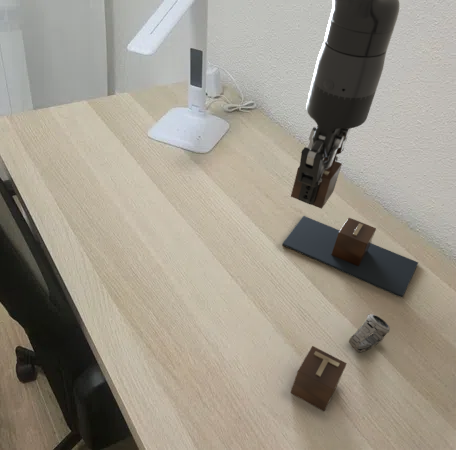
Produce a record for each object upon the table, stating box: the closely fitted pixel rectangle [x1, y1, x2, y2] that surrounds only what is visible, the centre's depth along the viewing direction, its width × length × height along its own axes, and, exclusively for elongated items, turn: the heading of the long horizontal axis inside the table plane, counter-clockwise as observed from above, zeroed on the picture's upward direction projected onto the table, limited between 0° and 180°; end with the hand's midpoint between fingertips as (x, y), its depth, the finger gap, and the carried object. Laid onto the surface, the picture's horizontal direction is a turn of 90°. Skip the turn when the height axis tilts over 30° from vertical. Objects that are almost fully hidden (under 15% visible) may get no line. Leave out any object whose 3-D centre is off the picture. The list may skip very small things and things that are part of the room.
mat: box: [281, 215, 419, 298], centre depth 91 cm, size 20×9×1 cm, turn 56°
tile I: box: [332, 217, 377, 266], centre depth 89 cm, size 5×5×5 cm
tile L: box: [290, 158, 343, 210], centre depth 76 cm, size 5×5×5 cm
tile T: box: [290, 345, 347, 412], centre depth 70 cm, size 5×5×5 cm
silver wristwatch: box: [348, 313, 391, 353], centre depth 76 cm, size 4×6×5 cm, turn 120°
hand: (313, 191), depth 78 cm, fingers closed on tile L, 4 cm apart
